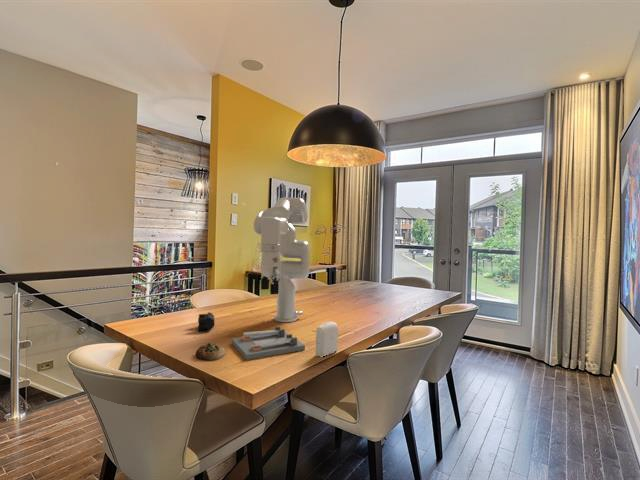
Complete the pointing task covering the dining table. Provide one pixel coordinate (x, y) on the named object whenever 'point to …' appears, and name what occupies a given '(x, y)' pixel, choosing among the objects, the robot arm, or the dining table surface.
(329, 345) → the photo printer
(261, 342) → the strap
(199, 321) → the end cap
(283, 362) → the dining table surface
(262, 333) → the strap
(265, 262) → the robot arm
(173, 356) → the dining table surface
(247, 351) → the clamp board
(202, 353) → the bread roll
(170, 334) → the dining table surface
